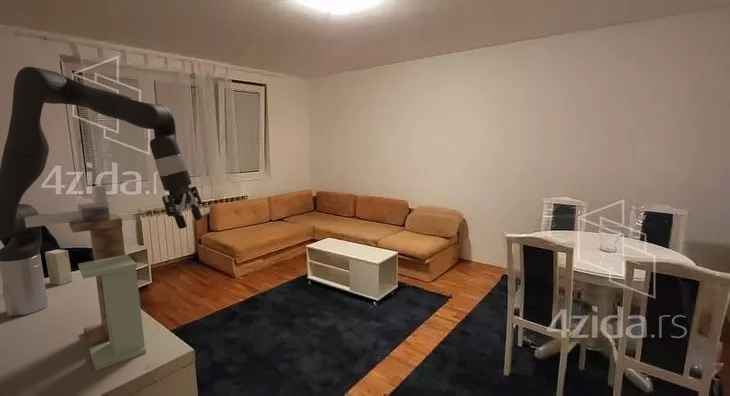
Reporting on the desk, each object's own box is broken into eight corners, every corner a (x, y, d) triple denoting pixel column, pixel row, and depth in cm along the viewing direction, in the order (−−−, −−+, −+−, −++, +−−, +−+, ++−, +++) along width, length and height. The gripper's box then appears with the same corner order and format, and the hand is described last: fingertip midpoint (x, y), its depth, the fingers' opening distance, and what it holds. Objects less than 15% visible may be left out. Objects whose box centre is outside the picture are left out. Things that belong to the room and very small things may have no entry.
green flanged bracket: (95, 370, 80) (82, 274, 76) (90, 352, 87) (78, 263, 83) (146, 352, 86) (136, 263, 83) (137, 337, 94) (127, 254, 90)
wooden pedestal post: (88, 347, 89) (70, 212, 84) (83, 332, 96) (66, 207, 91) (134, 332, 96) (120, 207, 90) (127, 319, 103) (113, 202, 98)
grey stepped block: (26, 228, 81) (20, 192, 79) (26, 225, 84) (20, 190, 83) (110, 218, 92) (106, 186, 90) (107, 215, 95) (104, 185, 93)
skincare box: (73, 281, 133) (69, 250, 131) (60, 285, 129) (55, 253, 127) (62, 279, 135) (57, 248, 133) (48, 283, 131) (44, 252, 129)
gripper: (176, 171, 110) (192, 219, 113) (145, 178, 96) (165, 233, 99) (197, 166, 109) (214, 215, 112) (170, 172, 95) (189, 228, 98)
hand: (191, 223), depth 106 cm, fingers open, 8 cm apart
